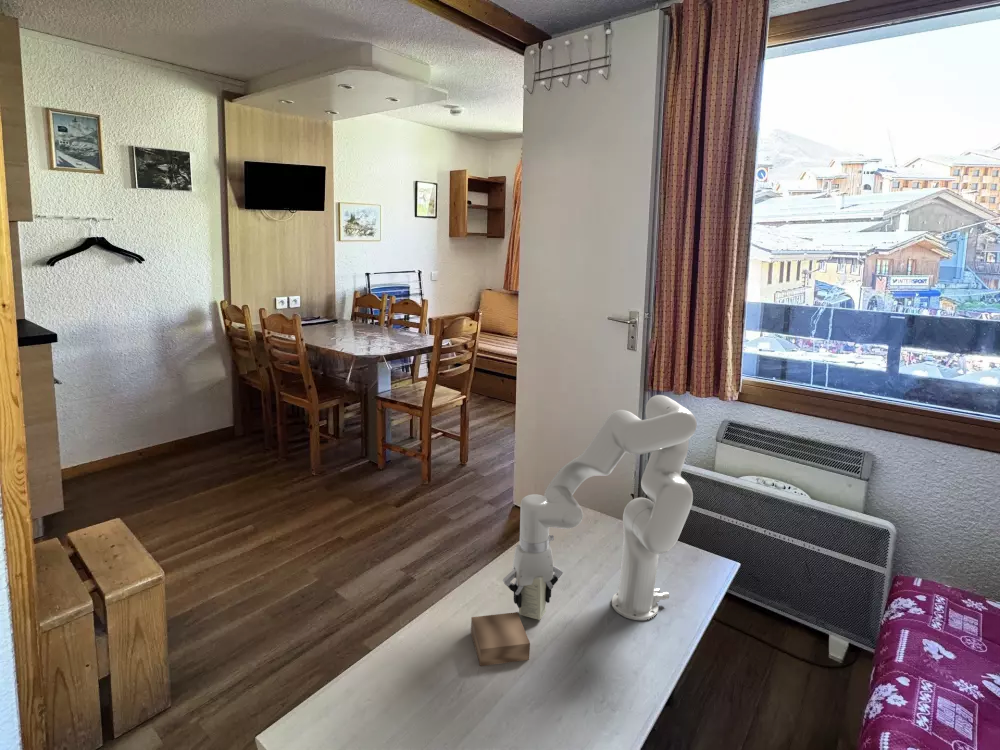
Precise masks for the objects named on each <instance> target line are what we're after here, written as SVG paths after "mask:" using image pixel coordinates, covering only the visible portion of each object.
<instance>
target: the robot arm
mask: <svg viewBox="0 0 1000 750" xmlns="http://www.w3.org/2000/svg"><path fill="white" fill-rule="evenodd" d="M645 417H646V419H641V417H639V416H637V415H636V414H634V413H633V412H631V411H628V410H626V409H617V410H615V411H614V412H612V413H610V414H609V417H608V418H606V420H605V421H604V423H603V424H602V425H601V427H600V428H599V430H598V431H597V433H596V434H595V436H594V437H593V438H592V440H591V441H590V443H589V444H588V445H587V446H586V448H585V450H584V451H583V452H582V454H580V455H579V456H577V457H575V458H573V459H572V460H570V461H569V462H567V463H566V464H564V466H562V467H561V468H560V469H559V470H558V471H557V473H556V474H555V475H554V476H553V478H552V480H550V482H549V484H548V485H547V488H546V489H545V491H544V495H542V494H537V493H535V494H534V493H532V494H527V495H526V496H524V497H523V498H522V499H521V501H520V515H519V520H520V521H519V544H516V547H515V550H514V554H513V560H512V568H511V569H512V571H510V572H509V573H508V574H507V575H506V576H505V577H503V579H502V582H503V583H504V585H505V586H506V587H507V588H508V589H509V590H510V591H512V593H513V602H514V604H515V605H516V606H517V608H518V609H519V608H521V603H522V595H521V593H520V592H521V590H522V588H523V587H524V586H526V585H532V583H533V580H534V578H536V577H541V576H542V577H543V582H546V604H548V603H550V601H551V600H550V598H552V589H553V588H554V585H555V584H557V582H558V581H559V579H560V578H561V576H562V575H563V574H564V572H563V571H562V569H560V568H559V567H558V566H556V565H554V557H553V552H552V546H551V543H550V542H552V541H554V540H555V538H554V537H555V536H554V535H553V534H552V535H550V528H556V529H563V530H569V529H574V528H576V527H578V526H579V525H580V524H581V523H582V520H583V518H584V512H583V509H582V506H580V504H579V503H578V501H577V499H575V497H574V493H576V491H577V489H578V488H579V487H580V486H581V484H583V482H584V481H586V480H587V479H589V478H592V477H595V476H602V477H604V476H605V477H606V476H609V475H610V474H611V473H612V472H613V470H614V469H615V468H616V466H617V465H618V463H619V462H620V461H621V459H623V457H624V455H625V454H626V453H627V454H629V455H633V456H638V455H646V454H648V453H650V455H649V458H648V461H647V464H646V466H645V469H644V471H643V474H642V476H641V480H640V485H641V486H640V487H641V489H642V491H643V492H644V493H645V495H646V496H647V497H648V498H647V497H646V498H645V497H635V498H633V499H631V500H630V501H629V502H628V503H627V504H626V506H625V507H624V511H623V515H622V527H623V529H622V530H623V531H622V532H623V543H622V553H621V554H622V555H621V564H620V574H619V582H618V583H619V584H618V590H617V592H616V593H614V594H613V595H612V597H611V605H612V608H613V609H614V611H615V612H616V613H618V614H619V615H621V616H622V617H624V618H627V619H629V620H633V621H648V620H651V619H653V618H655V617H656V616H657V615H656V614H658V613H659V602H660V600H661V601H662V600H664V601H665V600H669V599H670V593H669V592H668V591H663V592H661V590H660V588H659V587H657V588H656V581H657V573H658V564H659V556H660V555H664V554H665V553H668V552H669V551H670V550H672V549H673V548H674V546H675V545H676V543H677V542H678V539H679V538H680V535H681V533H682V530H683V528H684V526H685V524H686V521H687V519H688V516H689V514H690V511H691V509H692V507H693V499H694V494H693V490H692V488H691V487H692V486H691V485H690V484H689V483H688V482H687V480H686V479H684V478H683V477H682V475H681V474H682V471H683V467H684V465H685V462H686V458H687V455H688V451H689V443H690V442H689V441H690V438H692V437H693V436H694V435H695V433H696V430H697V419H696V417H695V415H694V414H693V412H692V411H690V410H689V409H688V408H686V407H685V406H683V405H681V404H680V403H678V402H677V401H675V400H674V399H673V398H670V397H669V396H666V395H663V394H655V395H654V396H652V397H650V398H649V400H648V401H647V402H646V405H645ZM514 579H515V581H514V583H513V582H512V581H513V580H514ZM657 612H658V613H657ZM655 615H656V616H655ZM654 616H655V617H654ZM652 617H653V618H652ZM650 618H651V619H650ZM647 619H648V620H647Z"/></svg>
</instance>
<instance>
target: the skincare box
mask: <svg viewBox="0 0 1000 750" xmlns="http://www.w3.org/2000/svg"><path fill="white" fill-rule="evenodd" d="M520 593H521V595H522V603H521V608H518V611H519V612H518V615H519V616H524V617H527V618H531V619H534V620H538V621H540V620H542V619H543V616H544V615H545V613H546V611H547V609H546V604H547V602H546V582H543V577H542V576H541V577H536V578H534V580H533V583H532V585H526V586H524V587H523V588H522V590H521V592H520Z"/></svg>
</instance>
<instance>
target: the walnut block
mask: <svg viewBox="0 0 1000 750" xmlns="http://www.w3.org/2000/svg"><path fill="white" fill-rule="evenodd" d="M470 622H471V623H470V626H471V627H470V635H471V638H472V642H473V645H474V648H475V653H476V656H477V660H478V662H479V666H480V667H485V666H492V665H493V666H494V665H499V664H501V665H502V664H508V663H515V662H521V661H522V662H523V661H530V651H531V642H530V640H529V637H528V634H527V632H526V630H525V627H524V626H523V622H522V620H521V618H520V614H519V612H516V611H515V612H507V613H498V614H496V613H495V614H489V615H480V616H472V617H471V619H470Z"/></svg>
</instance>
